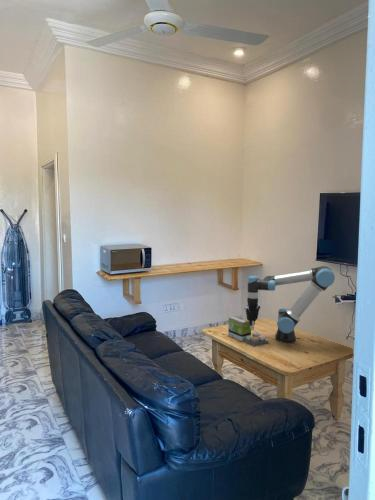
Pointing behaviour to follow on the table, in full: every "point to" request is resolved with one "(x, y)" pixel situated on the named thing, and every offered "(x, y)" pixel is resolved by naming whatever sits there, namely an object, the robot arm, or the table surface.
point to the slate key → (255, 334)
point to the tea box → (239, 328)
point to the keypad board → (255, 343)
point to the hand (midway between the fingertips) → (252, 329)
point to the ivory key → (261, 338)
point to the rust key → (255, 339)
